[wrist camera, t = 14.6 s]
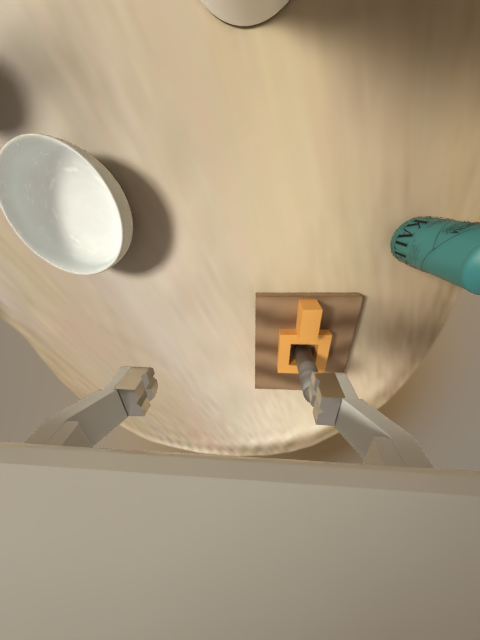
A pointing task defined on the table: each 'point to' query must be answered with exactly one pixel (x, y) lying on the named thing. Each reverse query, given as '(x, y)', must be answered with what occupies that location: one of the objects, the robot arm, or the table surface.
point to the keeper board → (287, 319)
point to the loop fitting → (304, 337)
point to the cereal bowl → (64, 204)
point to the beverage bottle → (441, 249)
